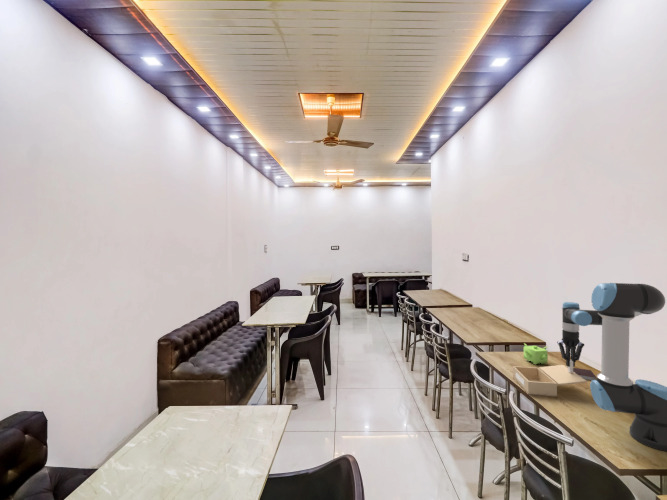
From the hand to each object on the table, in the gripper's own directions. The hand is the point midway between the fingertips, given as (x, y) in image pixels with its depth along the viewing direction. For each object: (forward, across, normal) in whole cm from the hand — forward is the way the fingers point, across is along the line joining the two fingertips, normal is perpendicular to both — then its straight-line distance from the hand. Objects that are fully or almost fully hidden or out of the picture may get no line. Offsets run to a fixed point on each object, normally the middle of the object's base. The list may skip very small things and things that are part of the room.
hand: (570, 372), depth 178 cm
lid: (+1, +5, 0) cm, 5 cm away
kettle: (+10, +1, -41) cm, 42 cm away
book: (+10, -13, -22) cm, 27 cm away
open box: (+10, +19, 0) cm, 21 cm away
